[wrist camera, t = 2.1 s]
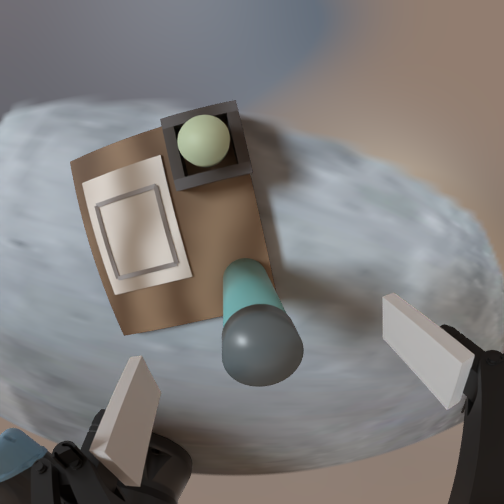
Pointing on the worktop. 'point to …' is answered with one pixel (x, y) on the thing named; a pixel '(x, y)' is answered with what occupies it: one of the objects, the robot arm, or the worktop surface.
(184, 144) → the button
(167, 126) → the clipboard
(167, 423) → the worktop surface
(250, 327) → the marker
